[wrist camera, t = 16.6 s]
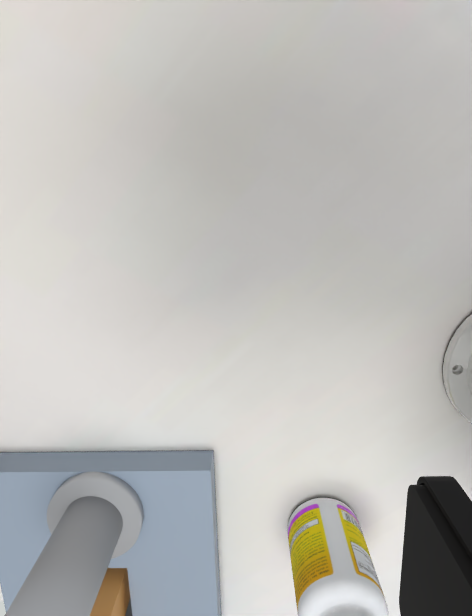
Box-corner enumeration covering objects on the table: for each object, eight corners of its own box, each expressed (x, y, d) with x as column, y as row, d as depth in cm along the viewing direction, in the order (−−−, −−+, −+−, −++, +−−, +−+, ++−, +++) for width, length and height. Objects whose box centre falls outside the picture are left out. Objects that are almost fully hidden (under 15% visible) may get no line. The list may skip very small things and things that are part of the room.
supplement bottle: (282, 549, 42) (296, 696, 30) (291, 490, 41) (310, 620, 28) (351, 556, 42) (394, 707, 30) (363, 498, 41) (414, 631, 28)
